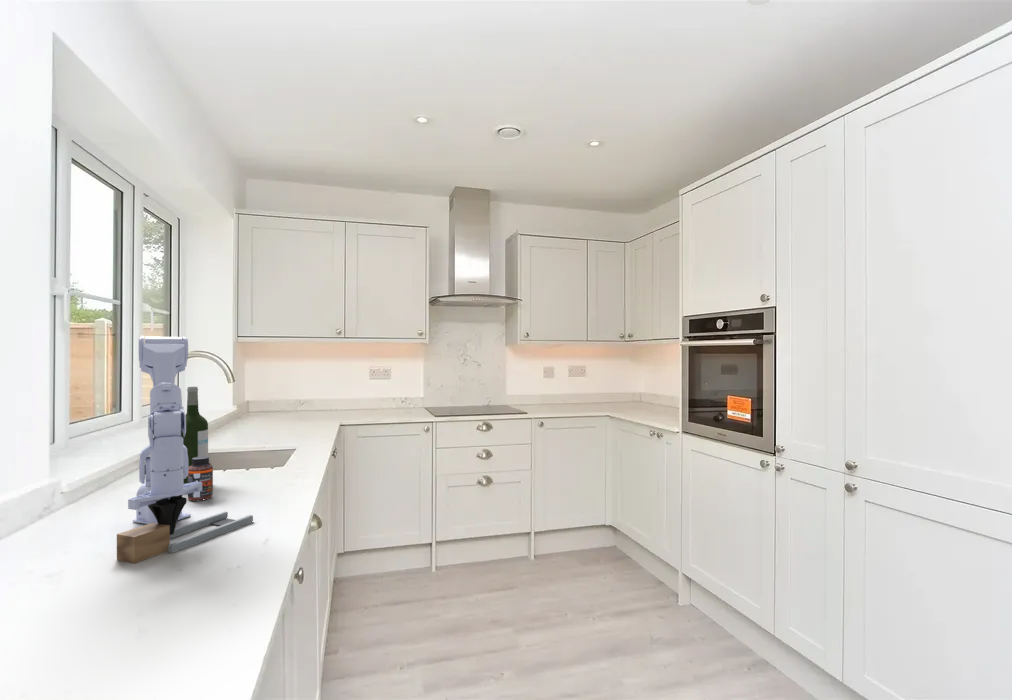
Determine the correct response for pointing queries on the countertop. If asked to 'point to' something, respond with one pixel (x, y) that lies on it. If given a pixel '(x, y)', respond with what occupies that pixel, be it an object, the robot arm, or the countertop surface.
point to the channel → (212, 520)
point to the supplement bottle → (201, 478)
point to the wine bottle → (194, 429)
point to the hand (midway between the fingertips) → (167, 534)
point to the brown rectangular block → (143, 542)
